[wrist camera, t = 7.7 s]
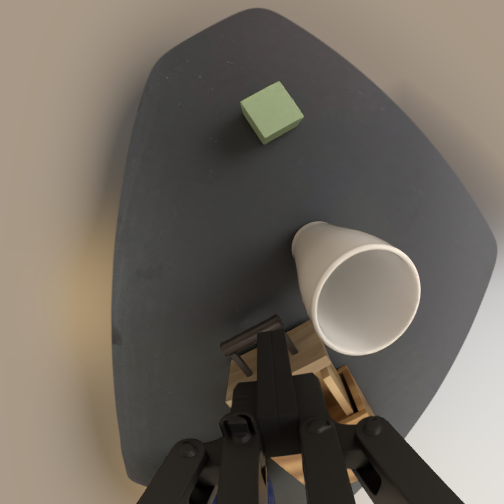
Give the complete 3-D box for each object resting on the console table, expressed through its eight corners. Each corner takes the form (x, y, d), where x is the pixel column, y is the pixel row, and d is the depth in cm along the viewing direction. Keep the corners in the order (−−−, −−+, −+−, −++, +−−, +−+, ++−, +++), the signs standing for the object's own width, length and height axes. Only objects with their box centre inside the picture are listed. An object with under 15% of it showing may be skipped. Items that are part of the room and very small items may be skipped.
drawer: (208, 331, 30) (195, 370, 23) (292, 284, 29) (302, 316, 22) (286, 424, 33) (290, 464, 26) (355, 391, 32) (371, 429, 25)
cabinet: (265, 403, 34) (267, 455, 25) (345, 364, 32) (367, 412, 23) (311, 451, 36) (318, 495, 27) (377, 420, 35) (395, 462, 26)
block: (276, 94, 25) (279, 80, 21) (297, 125, 26) (304, 116, 22) (242, 113, 26) (239, 101, 22) (263, 145, 26) (264, 138, 23)
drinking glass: (359, 250, 29) (437, 306, 14) (309, 290, 30) (350, 376, 15) (322, 199, 28) (388, 215, 13) (270, 241, 29) (283, 299, 14)
